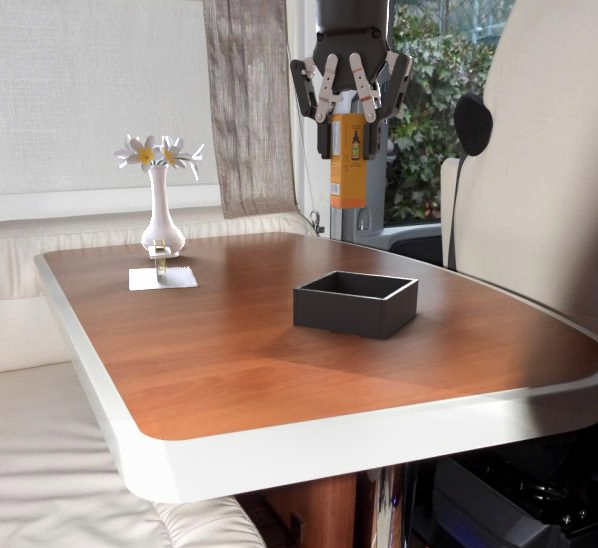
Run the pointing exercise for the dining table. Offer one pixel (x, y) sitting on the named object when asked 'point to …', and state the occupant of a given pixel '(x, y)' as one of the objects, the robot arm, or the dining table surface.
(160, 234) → the flower vase
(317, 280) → the basket
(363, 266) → the dining table surface
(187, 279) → the platform
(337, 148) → the supplement box
